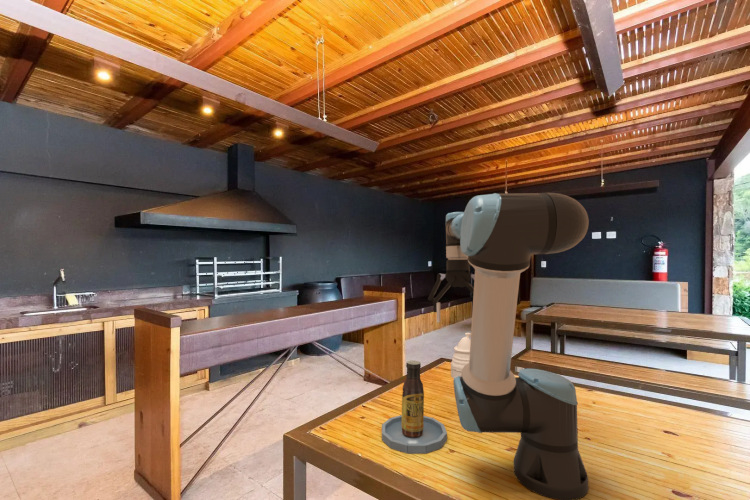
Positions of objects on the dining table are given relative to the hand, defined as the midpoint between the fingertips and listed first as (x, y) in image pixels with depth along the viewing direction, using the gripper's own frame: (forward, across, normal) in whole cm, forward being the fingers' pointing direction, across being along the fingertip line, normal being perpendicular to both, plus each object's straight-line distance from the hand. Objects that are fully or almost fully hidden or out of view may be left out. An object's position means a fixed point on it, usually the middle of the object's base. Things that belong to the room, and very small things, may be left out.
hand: (459, 323), depth 114 cm
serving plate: (+29, +10, +21) cm, 37 cm away
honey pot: (+29, +2, -35) cm, 46 cm away
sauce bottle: (+28, +11, +21) cm, 37 cm away
